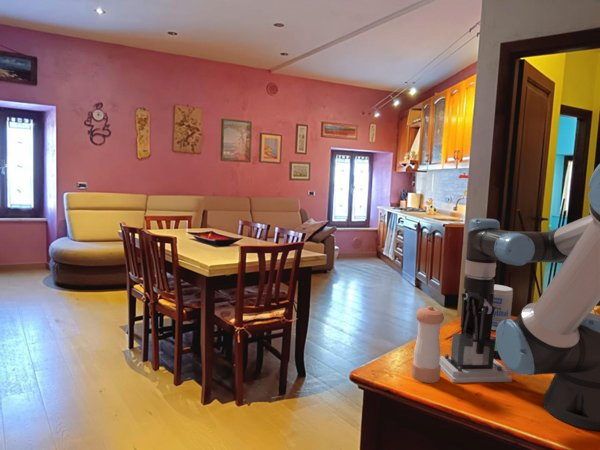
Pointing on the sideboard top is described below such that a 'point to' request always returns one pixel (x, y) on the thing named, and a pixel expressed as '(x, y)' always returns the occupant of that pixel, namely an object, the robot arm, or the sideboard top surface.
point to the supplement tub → (501, 304)
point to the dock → (474, 372)
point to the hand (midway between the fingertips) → (472, 360)
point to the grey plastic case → (470, 352)
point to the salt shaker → (427, 346)
